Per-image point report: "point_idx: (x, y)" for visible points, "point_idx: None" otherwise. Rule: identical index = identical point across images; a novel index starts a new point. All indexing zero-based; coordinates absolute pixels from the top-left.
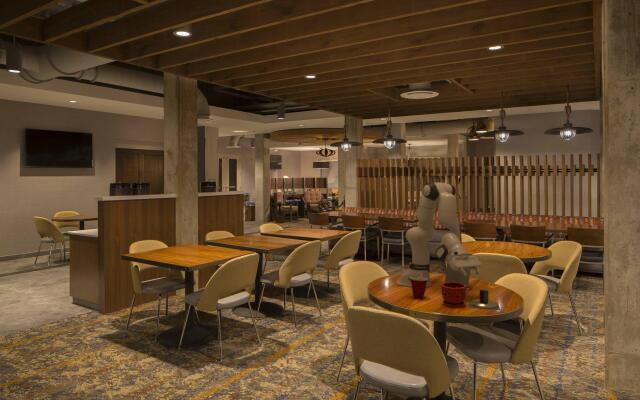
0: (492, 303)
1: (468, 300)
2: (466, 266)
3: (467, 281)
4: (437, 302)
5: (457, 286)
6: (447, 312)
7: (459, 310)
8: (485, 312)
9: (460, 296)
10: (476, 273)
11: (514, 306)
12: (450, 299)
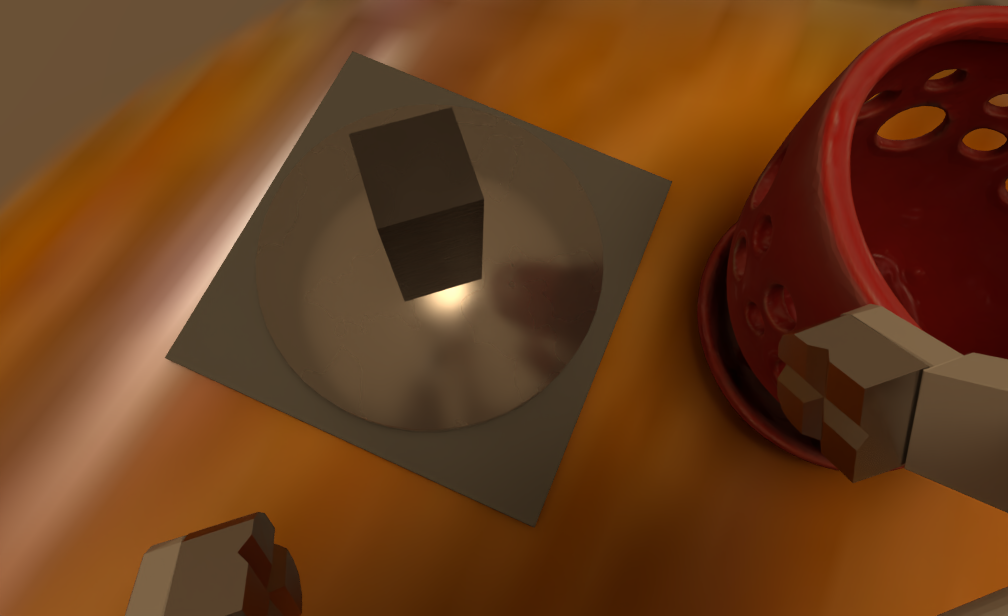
0: (332, 211)
1: (538, 507)
2: (989, 603)
3: None
4: None
5: None
6: None
7: None
8: (550, 39)
9: (869, 107)
10: (279, 612)
11: (65, 183)
12: (971, 182)
